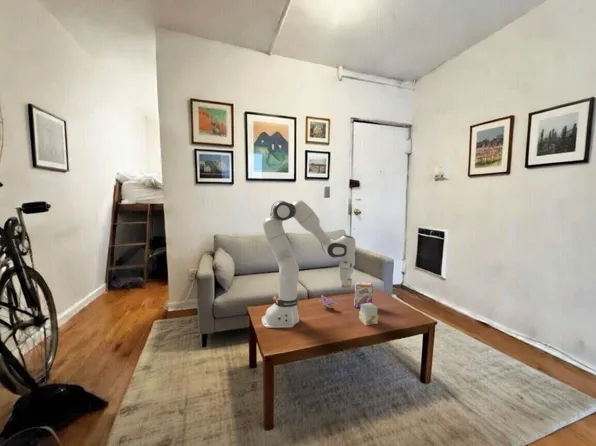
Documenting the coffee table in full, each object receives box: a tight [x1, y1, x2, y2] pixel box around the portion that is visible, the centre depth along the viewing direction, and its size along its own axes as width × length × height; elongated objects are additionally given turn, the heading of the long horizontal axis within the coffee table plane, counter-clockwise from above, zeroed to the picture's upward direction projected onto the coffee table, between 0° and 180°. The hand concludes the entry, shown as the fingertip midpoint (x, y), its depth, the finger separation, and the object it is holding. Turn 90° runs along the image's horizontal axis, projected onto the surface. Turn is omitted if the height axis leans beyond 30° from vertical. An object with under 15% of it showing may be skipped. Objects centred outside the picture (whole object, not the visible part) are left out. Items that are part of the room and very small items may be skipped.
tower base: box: [358, 311, 379, 326], centre depth 162 cm, size 8×8×5 cm
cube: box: [341, 277, 353, 290], centre depth 166 cm, size 5×5×5 cm
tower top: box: [359, 302, 378, 317], centre depth 161 cm, size 7×7×5 cm
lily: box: [318, 294, 338, 311], centre depth 177 cm, size 12×12×10 cm
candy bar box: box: [353, 281, 374, 309], centre depth 182 cm, size 11×5×16 cm, turn 84°
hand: (346, 283), depth 166 cm, fingers closed on cube, 5 cm apart
